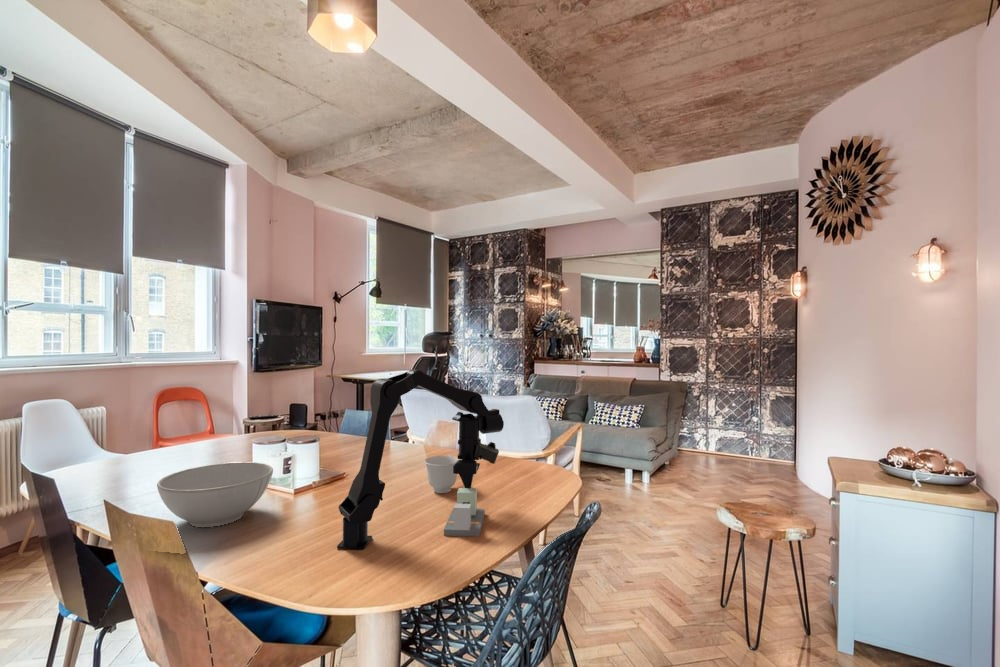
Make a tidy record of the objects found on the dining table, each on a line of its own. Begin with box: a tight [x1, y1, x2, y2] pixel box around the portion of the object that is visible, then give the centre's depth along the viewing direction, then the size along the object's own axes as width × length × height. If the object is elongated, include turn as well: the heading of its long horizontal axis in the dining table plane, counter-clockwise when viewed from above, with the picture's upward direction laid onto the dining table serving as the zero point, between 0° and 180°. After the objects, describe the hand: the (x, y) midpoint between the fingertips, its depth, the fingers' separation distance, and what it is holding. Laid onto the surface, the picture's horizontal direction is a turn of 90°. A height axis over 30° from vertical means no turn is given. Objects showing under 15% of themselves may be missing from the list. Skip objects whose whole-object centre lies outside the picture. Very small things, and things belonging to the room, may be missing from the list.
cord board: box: [443, 502, 486, 538], centre depth 120 cm, size 15×9×7 cm, turn 177°
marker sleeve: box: [456, 487, 478, 515], centre depth 123 cm, size 4×5×6 cm
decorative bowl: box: [156, 461, 274, 528], centre depth 122 cm, size 27×27×12 cm
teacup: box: [423, 454, 461, 494], centre depth 149 cm, size 12×15×10 cm
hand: (468, 490), depth 127 cm, fingers closed
